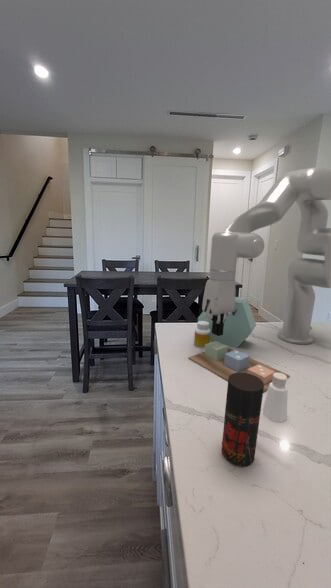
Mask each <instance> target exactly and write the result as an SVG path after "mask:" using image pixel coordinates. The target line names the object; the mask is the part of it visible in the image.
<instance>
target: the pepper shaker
mask: <svg viewBox="0 0 331 588" xmlns="http://www.w3.org/2000/svg"><path fill="white" fill-rule="evenodd" d="M287 380H288V378H287V376H286V375H284V374H282V373H274V374H273V380H272V381H273V382H271V383H270V384H269V387H268V390H267V391H266V395H265V400H264V403H263V407H262V415H263V416H264V417H265V418H267V419H268V420H269V421H271V422H275V423H283V422H285V421H287V419H288V418H287V417H288V415H287V414H288V393H289V392H288V386H287V385H286V384H287Z"/></svg>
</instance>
